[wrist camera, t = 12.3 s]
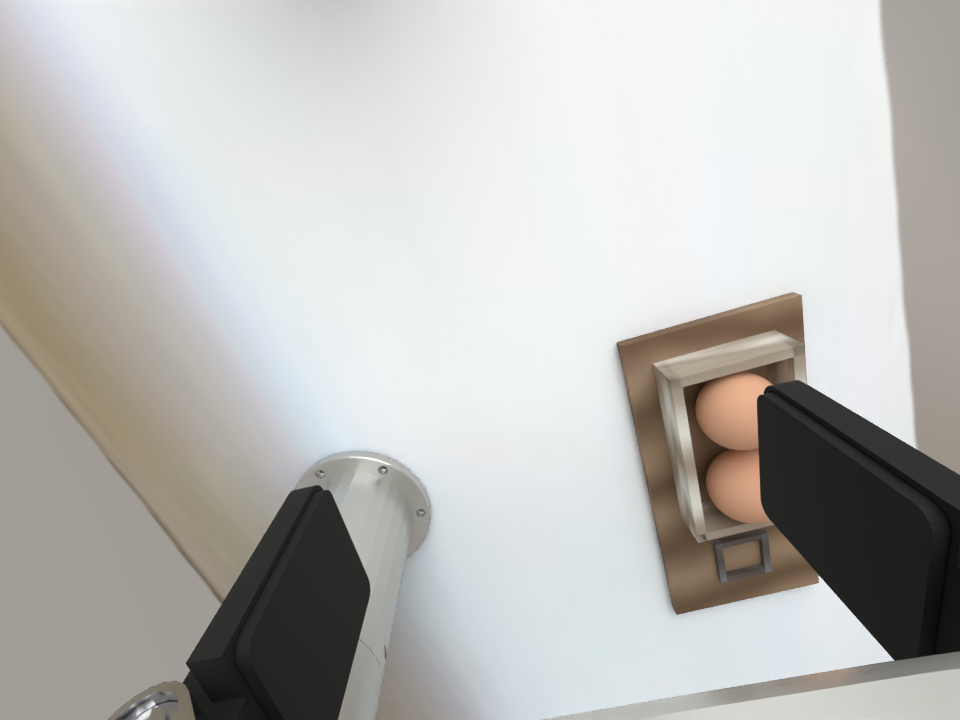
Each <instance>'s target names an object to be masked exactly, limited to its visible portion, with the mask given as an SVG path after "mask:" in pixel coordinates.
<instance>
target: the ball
mask: <svg viewBox="0 0 960 720" xmlns="http://www.w3.org/2000/svg"><path fill="white" fill-rule="evenodd" d="M770 385H773V384H771V383H770V382H769V381H768V380H766V379H765V378H763V377H761V376H759V375H756V374H753V373H749V372H743V371H741V372H737V373H733V374H730V375H726V376H722V377H719V378H715V379H711V380H710V381H708V382H707V383H706V384H705V385H704V387H703V388H702V389H701V391H700V392H699V394H698V397H697V400H696V405H695V412H696V418H697V421H698V423H699V425H700V427H701V429H702V430H703V432H704V433H705V434H706V435H707V436H708V437H709V438H710V439H711V440H712V441H714V442H715V443H717V444H719V445H721V446H723V447H726V448H729V449H733V450H740V451H741V450H753V449H757V448H759V447H758V422H757V398H758V396H759V395H762V394H764V390H765V388H766V387H767V386H770Z"/></svg>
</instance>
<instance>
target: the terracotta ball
mask: <svg viewBox="0 0 960 720" xmlns="http://www.w3.org/2000/svg"><path fill="white" fill-rule="evenodd" d="M706 487H707V491H708V494H709V496H710V498H711V500H712V502H713V503H714V504H715V506H716V507H717V508H718V509H719V510H720V511H721V512H723V513H724V514H725V515H727V516H728V517H730V518H732V519H734V520H737V521H740V522H744V523H750V524H758V523H765V522H768V521H770V519H769V518H768V517H767V515H766V514H765V512H764V510H763V507H762V504H761V498H760V473H759V450H757V449H753V450H741V451H740V450H733V449H729V450H726V451H724V452H722V453H721V454H719V455H718V456H717V457H716V458H715V459H714V460H713V461H712V462H711V464H710V466H709V468H708V470H707V474H706Z"/></svg>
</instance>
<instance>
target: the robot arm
mask: <svg viewBox="0 0 960 720" xmlns="http://www.w3.org/2000/svg"><path fill="white" fill-rule="evenodd" d="M757 422H758V447H759V473H760V498H761V504H762V507H763V510H764V512H765V514H766V515H767V517H768V518H769V519H770V520H771V522H772V523H773V524H774V525H775V526H776V527H777V528H778V529H779V531H780V532H781V533H782V534H783V535H784V536H785V537H786V538H787V540H788V541H789V542H790V543H791V544H792V545H793V546H794V548H795V549H796V550H797V551H798V552H799V553H800V554H801V555H802V557H803V558H804V559H805V560H806V561H807V562H808V563H809V564H810V566H811V567H812V568H813V569H814V570H815V571H816V572H817V573H818V575H819V576H820V577H821V578H822V579H823V580H824V581H825V582H826V584H827V585H828V586H829V587H830V588H831V589H832V590H833V592H834V593H835V594H836V595H837V596H838V597H839V598H840V599H841V601H842V602H843V603H844V604H845V605H846V606H847V607H848V608H849V610H850V611H851V612H852V613H853V614H854V615H855V616H856V617H857V619H858V620H859V621H860V622H861V623H862V624H863V625H864V626H865V628H866V629H867V630H868V631H869V632H870V633H871V634H872V636H873V637H874V638H875V639H876V640H877V641H878V642H879V643H880V645H881V646H882V647H883V648H884V649H885V650H886V651H887V652H888V654H889V655H890V656H891V657H892V658H893V659H894V660H895V661H890V662H884V663H877V664H870V665H864V666H858V667H852V668H846V669H840V670H834V671H828V672H822V673H816V674H810V675H804V676H798V677H792V678H786V679H779V680H773V681H767V682H761V683H755V684H749V685H743V686H737V687H731V688H725V689H719V690H713V691H707V692H701V693H695V694H689V695H683V696H677V697H671V698H665V699H660V700H654V701H648V702H642V703H636V704H630V705H624V706H618V707H613V708H607V709H601V710H595V711H589V712H583V713H578V714H572V715H566V716H560V717H554V718H549V719H543V720H960V475H959V474H957V473H955V472H954V471H952V470H950V469H949V468H947V467H945V466H943V465H942V464H940V463H938V462H937V461H935V460H933V459H932V458H930V457H928V456H927V455H925V454H923V453H922V452H920V451H918V450H917V449H915V448H913V447H912V446H910V445H908V444H906V443H905V442H903V441H901V440H900V439H898V438H896V437H895V436H893V435H891V434H890V433H888V432H886V431H885V430H883V429H881V428H879V427H878V426H876V425H874V424H873V423H871V422H869V421H868V420H866V419H864V418H863V417H861V416H859V415H858V414H856V413H854V412H853V411H851V410H849V409H847V408H846V407H844V406H842V405H841V404H839V403H837V402H836V401H834V400H832V399H831V398H829V397H827V396H826V395H824V394H822V393H820V392H819V391H817V390H815V389H814V388H812V387H810V386H809V385H807V384H805V383H804V382H802V381H799V380H793V381H789V382H784V383H780V384H775V385H770V386H767V387H766V388H765V390H764V394H762V395H759V396H758V398H757ZM430 514H431V508H430V502H429V498H428V495H427V493H426V491H425V488H424V487H423V485H422V484H421V482H420V481H419V479H418V478H417V477H416V476H415V475H414V474H413V473H412V472H411V471H410V470H409V469H407V468H406V467H404V466H403V465H401V464H400V463H399V462H397V461H395V460H392V459H390V458H388V457H386V456H382V455H379V454H375V453H370V452H360V451H355V452H343V453H339V454H335V455H331V456H329V457H327V458H324V459H322V460H320V461H319V462H317V463H316V464H314V465H313V466H312V467H310V468H309V469H308V470H307V472H306V473H305V474H304V475H303V476H302V478H301V479H300V481H299V482H298V484H297V486H296V488H295V490H293V491H291V492H290V494H289V495H288V497H287V498H286V500H285V502H284V503H283V505H282V507H281V508H280V510H279V512H278V513H277V515H276V516H275V518H274V520H273V521H272V523H271V525H270V526H269V528H268V530H267V531H266V533H265V534H264V536H263V538H262V539H261V541H260V543H259V544H258V546H257V548H256V549H255V551H254V552H253V554H252V556H251V557H250V559H249V561H248V562H247V564H246V566H245V567H244V569H243V571H242V572H241V574H240V575H239V577H238V579H237V580H236V582H235V584H234V585H233V587H232V589H231V590H230V592H229V593H228V595H227V597H226V598H225V600H224V602H223V603H222V605H221V607H220V608H219V610H218V612H217V613H216V615H215V616H214V618H213V620H212V621H211V623H210V625H209V626H208V628H207V630H206V631H205V633H204V635H203V636H202V638H201V639H200V641H199V643H198V644H197V646H196V648H195V649H194V651H193V652H192V654H191V656H190V658H189V659H188V661H187V662H186V664H187V666H188V667H189V669H190V672H189V673H188V675H187V677H186V679H185V680H184V682H183V683H180V682H177V681H170V682H163V683H161V684H158V685H155V686H152V687H150V688H148V689H146V690H145V691H143V692H141V693H140V694H138V695H136V696H135V697H133V698H132V699H131V700H129V701H128V702H127V703H126V704H124V705H123V706H122V707H120V709H118V710H117V711H116V712H115V713H114V714H113V715H112V716H111V717H110V718H109V719H108V720H375V719H376V713H377V708H378V703H379V697H380V692H381V687H382V682H383V677H384V672H385V666H386V661H387V656H388V650H389V645H390V640H391V635H392V629H393V624H394V619H395V613H396V608H397V603H398V598H399V592H400V587H401V582H402V576H403V571H404V566H405V561H406V558H408V557H409V556H411V555H412V554H413V553H414V552H415V551H416V550H417V549H418V548H419V547H420V545H421V544H422V542H423V541H424V539H425V537H426V535H427V532H428V529H429V523H430Z"/></svg>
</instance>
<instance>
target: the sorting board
mask: <svg viewBox="0 0 960 720" xmlns="http://www.w3.org/2000/svg"><path fill="white" fill-rule="evenodd" d="M617 345H618V350H619V354H620V359H621V364H622V368H623V373H624V378H625V383H626V387H627V392H628V397H629V402H630V406H631V411H632V416H633V421H634V425H635V430H636V435H637V440H638V444H639V449H640V454H641V458H642V463H643V468H644V473H645V477H646V482H647V487H648V492H649V496H650V501H651V506H652V511H653V515H654V520H655V525H656V530H657V534H658V539H659V544H660V549H661V553H662V558H663V563H664V567H665V572H666V577H667V582H668V586H669V591H670V596H671V601H672V605H673V608H674V610H675V612H676V614H677V615H678V614H682V613H687V612H691V611H695V610H700V609H704V608H709V607H713V606H718V605H722V604H727V603H731V602H736V601H740V600H745V599H749V598H754V597H758V596H762V595H767V594H771V593H776V592H780V591H785V590H789V589H794V588H798V587H803V586H807V585H812V584H816V583H819V579H818V573H817V572H816V571H815V570H814V569H813V568H812V567H811V566H810V564H809V563H808V562H807V561H806V560H805V559H804V558H803V557H802V555H801V554H800V553H799V552H798V551H797V550H796V549H795V548H794V546H793V545H792V544H791V543H790V542H789V541H788V540H787V538H786V537H785V536H784V535H783V534H782V533H781V532H780V531H779V529H778V528H777V527H776V526H775V525H774V524H773V523H772V522H771V520H770V521H768V522H765V523H758V524H750V523H744V522H740V521H737V520H734V519H732V518H730V517H728V516H727V515H725V514H724V513H723V512H721V511H720V510H719V509H718V508H717V507H716V506H715V504H714V503H713V502H712V500H711V498H710V496H709V494H708V491H707V487H706V474H707V470H708V468H709V466H710V464H711V462H712V461H713V460H714V459H715V458H716V457H717V456H718V455H719V454H721V453H722V452H724V451H726V450H729V448H726V447H723V446H721V445H719V444H717V443H715V442H714V441H712V440H711V439H710V438H709V437H708V436H707V435H706V434H705V433H704V432H703V430H702V429H701V427H700V425H699V423H698V421H697V418H696V412H695V405H696V400H697V397H698V394H699V392H700V391H701V389H702V388H703V387H704V385H705V384H706V383H707V382H708V381H710V380H711V379H715V378H719V377H722V376H726V375H730V374H733V373H737V372H741V371H743V372H749V373H753V374H756V375H759V376H761V377H763V378H765V379H766V380H768V381H769V382H770V383H771V384H773V385H775V384H780V383H784V382H789V381H793V380H799V381H802V382H804V383H805V384H807V376H806V359H805V342H804V326H803V309H802V295H800V294H797V293H794V292H793V293H789V294H786V295H782V296H779V297H775V298H772V299H768V300H764V301H761V302H757V303H754V304H750V305H747V306H743V307H740V308H736V309H733V310H729V311H726V312H722V313H719V314H715V315H712V316H708V317H705V318H701V319H698V320H694V321H691V322H687V323H684V324H680V325H677V326H673V327H669V328H666V329H662V330H659V331H655V332H652V333H648V334H645V335H641V336H638V337H634V338H631V339H627V340H624V341H620V342H617ZM757 450H759V448H757Z"/></svg>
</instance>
